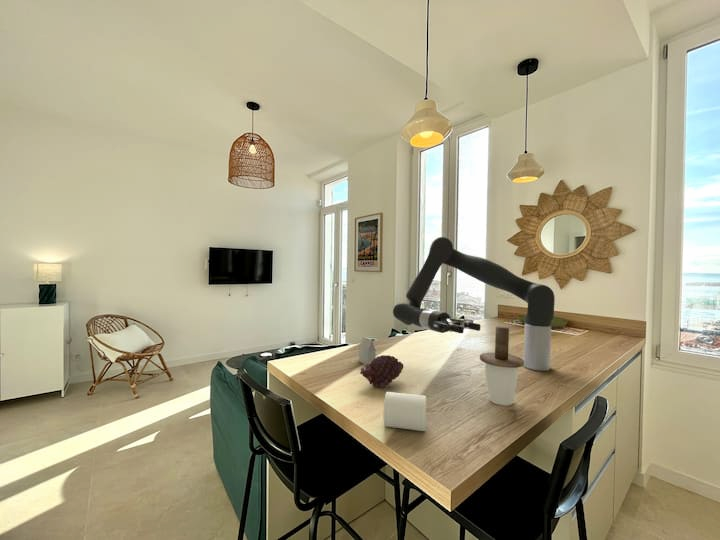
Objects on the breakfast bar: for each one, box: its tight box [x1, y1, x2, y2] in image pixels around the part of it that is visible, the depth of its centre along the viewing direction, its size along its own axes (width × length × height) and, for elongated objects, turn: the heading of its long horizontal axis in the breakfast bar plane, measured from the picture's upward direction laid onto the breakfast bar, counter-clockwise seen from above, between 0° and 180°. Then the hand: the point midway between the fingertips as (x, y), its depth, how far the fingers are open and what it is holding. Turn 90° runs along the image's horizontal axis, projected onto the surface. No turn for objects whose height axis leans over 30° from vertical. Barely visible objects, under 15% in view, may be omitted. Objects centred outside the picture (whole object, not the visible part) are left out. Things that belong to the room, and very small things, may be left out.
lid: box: [479, 325, 525, 369], centre depth 93 cm, size 12×12×10 cm
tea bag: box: [358, 336, 377, 366], centre depth 126 cm, size 4×7×10 cm, turn 30°
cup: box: [484, 363, 519, 407], centre depth 93 cm, size 9×9×12 cm
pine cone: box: [359, 354, 405, 388], centre depth 103 cm, size 18×10×10 cm, turn 126°
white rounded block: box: [382, 391, 427, 432], centre depth 79 cm, size 12×10×8 cm
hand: (471, 328), depth 102 cm, fingers open, 8 cm apart
